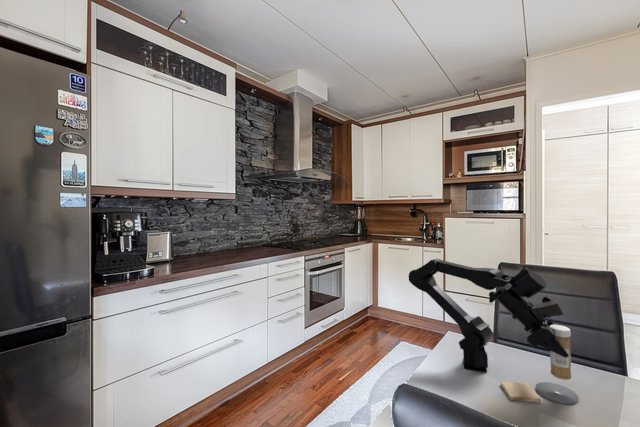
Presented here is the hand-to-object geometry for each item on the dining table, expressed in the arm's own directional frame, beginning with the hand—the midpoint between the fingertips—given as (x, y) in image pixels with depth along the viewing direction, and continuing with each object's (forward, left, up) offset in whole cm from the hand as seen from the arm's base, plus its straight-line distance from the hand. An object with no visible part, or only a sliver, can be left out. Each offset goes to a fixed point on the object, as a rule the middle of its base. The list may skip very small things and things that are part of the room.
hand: (566, 353), depth 79 cm
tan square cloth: (-12, -4, -11) cm, 17 cm away
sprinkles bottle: (-1, 0, -7) cm, 7 cm away
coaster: (-3, -1, -11) cm, 11 cm away
